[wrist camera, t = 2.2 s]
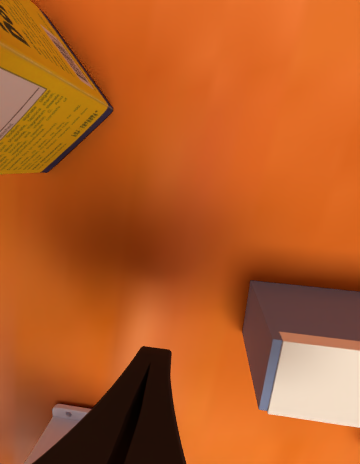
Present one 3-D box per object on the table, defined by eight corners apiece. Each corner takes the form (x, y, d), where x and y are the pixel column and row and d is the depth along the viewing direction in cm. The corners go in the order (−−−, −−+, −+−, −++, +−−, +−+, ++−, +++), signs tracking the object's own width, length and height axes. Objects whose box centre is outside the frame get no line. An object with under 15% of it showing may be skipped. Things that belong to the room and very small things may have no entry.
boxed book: (242, 332, 16) (259, 412, 11) (250, 279, 15) (273, 340, 10) (363, 346, 16) (444, 440, 10) (381, 292, 15) (483, 365, 9)
